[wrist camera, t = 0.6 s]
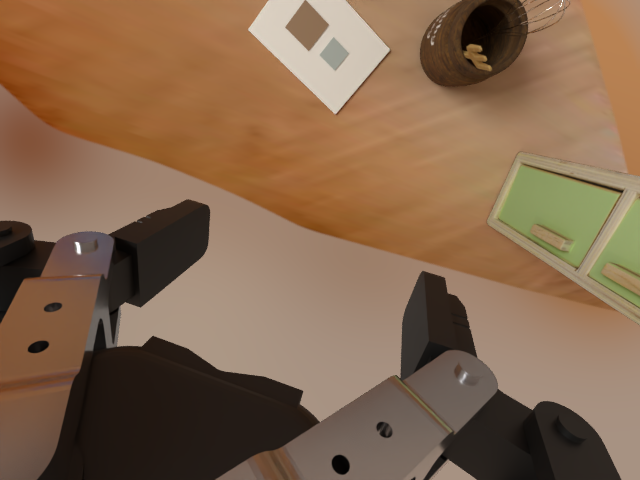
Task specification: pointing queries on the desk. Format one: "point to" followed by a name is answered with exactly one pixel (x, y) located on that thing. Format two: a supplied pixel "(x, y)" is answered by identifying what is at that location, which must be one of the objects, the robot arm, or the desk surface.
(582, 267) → the toy refrigerator
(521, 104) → the desk surface
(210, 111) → the desk surface
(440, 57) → the utensil holder
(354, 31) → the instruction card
